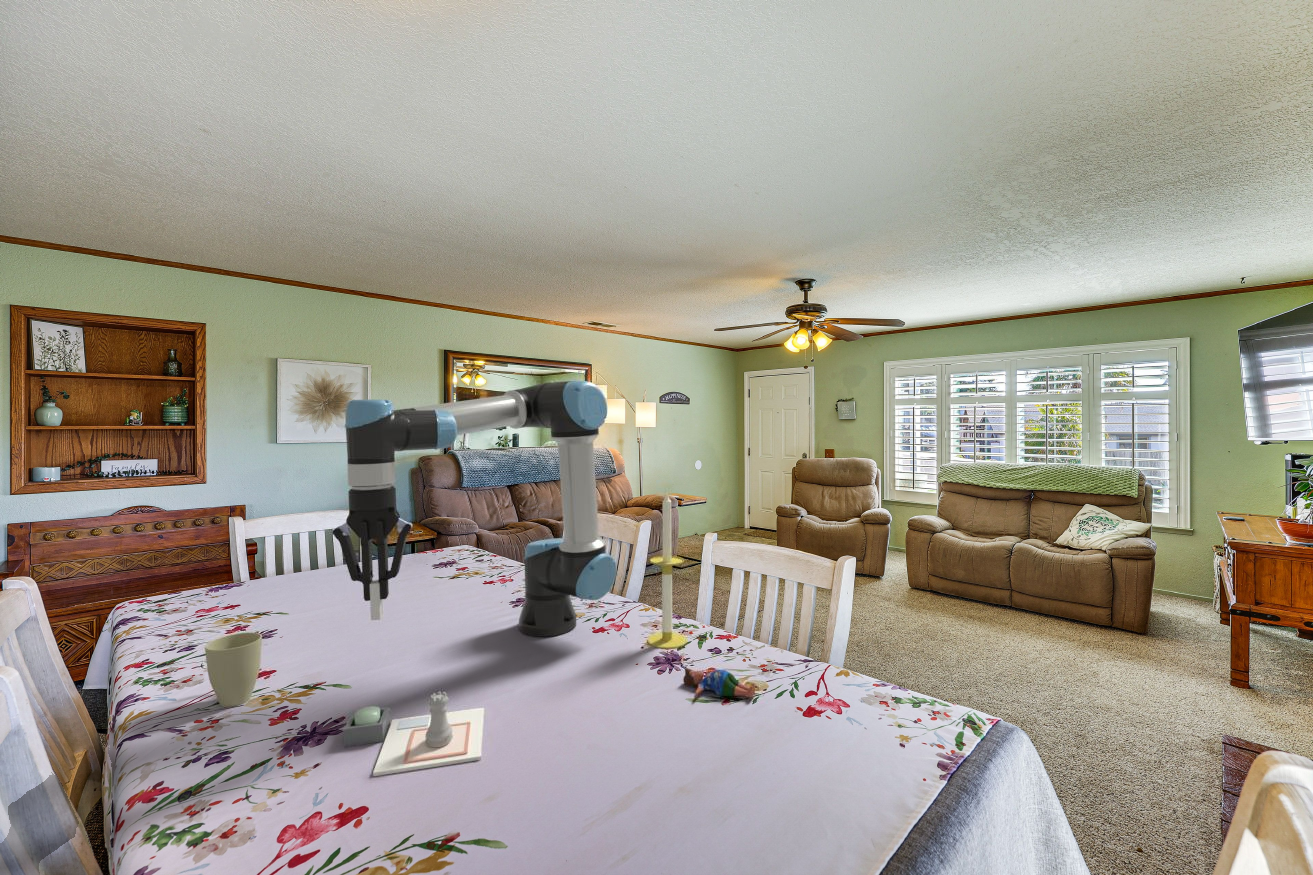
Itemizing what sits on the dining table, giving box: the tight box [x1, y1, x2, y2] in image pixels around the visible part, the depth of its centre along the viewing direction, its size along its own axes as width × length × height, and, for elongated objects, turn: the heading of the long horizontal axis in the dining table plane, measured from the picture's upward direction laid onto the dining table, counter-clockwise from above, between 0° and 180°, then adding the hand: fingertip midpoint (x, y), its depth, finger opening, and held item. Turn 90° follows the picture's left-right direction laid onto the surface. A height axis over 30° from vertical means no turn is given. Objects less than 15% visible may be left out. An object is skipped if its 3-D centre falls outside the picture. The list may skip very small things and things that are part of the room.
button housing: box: [343, 706, 391, 747], centre depth 99 cm, size 6×6×3 cm
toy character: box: [683, 667, 756, 699], centre depth 115 cm, size 12×5×15 cm
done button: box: [354, 705, 381, 726], centre depth 99 cm, size 4×4×4 cm
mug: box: [204, 631, 263, 708], centre depth 112 cm, size 11×10×12 cm
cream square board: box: [372, 707, 485, 777], centre depth 97 cm, size 16×16×1 cm
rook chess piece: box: [425, 691, 453, 748], centre depth 95 cm, size 4×4×8 cm
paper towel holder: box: [646, 492, 688, 650], centre depth 140 cm, size 10×10×38 cm
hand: (377, 617), depth 101 cm, fingers closed
